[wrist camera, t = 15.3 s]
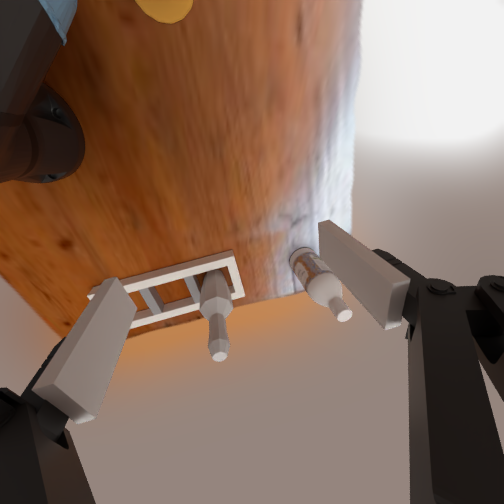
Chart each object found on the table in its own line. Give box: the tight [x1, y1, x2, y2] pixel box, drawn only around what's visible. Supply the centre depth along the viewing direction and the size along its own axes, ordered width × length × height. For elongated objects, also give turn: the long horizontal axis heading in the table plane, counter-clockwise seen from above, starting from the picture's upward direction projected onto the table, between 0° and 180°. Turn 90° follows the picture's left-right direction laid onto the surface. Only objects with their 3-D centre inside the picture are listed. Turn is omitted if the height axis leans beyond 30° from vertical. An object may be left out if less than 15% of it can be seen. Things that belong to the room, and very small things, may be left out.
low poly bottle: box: [200, 269, 233, 362], centre depth 44 cm, size 6×6×22 cm
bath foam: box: [290, 248, 352, 322], centre depth 48 cm, size 7×7×20 cm
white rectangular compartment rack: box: [87, 250, 245, 329], centre depth 52 cm, size 32×12×3 cm, turn 101°
